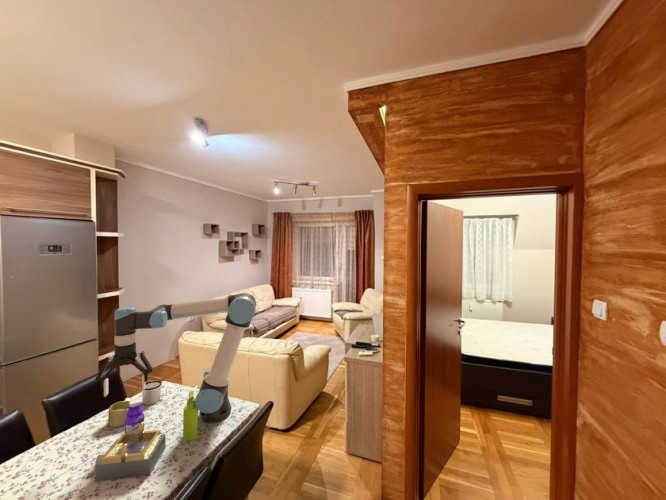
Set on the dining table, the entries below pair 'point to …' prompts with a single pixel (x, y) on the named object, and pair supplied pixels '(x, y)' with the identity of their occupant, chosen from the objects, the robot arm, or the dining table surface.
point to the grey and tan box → (131, 455)
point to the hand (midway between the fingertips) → (125, 391)
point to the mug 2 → (152, 392)
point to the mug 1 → (118, 413)
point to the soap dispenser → (190, 419)
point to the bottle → (134, 416)
